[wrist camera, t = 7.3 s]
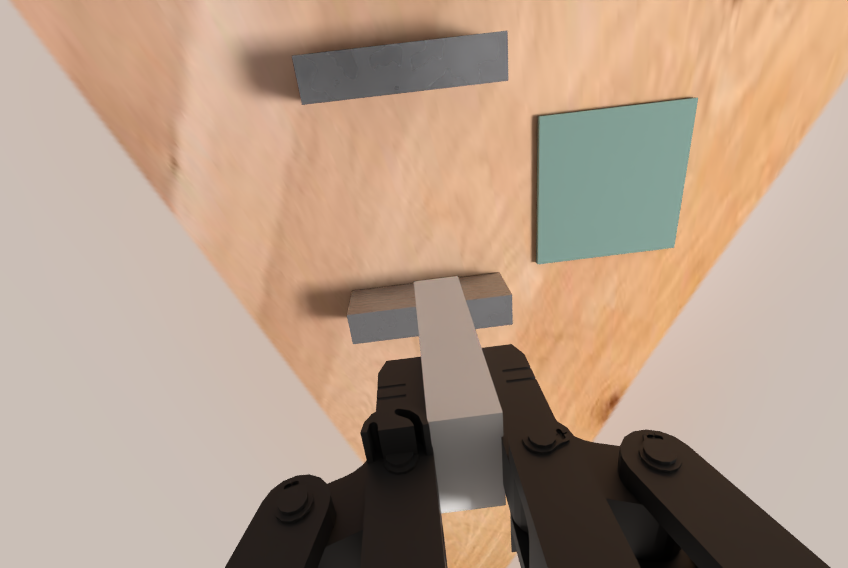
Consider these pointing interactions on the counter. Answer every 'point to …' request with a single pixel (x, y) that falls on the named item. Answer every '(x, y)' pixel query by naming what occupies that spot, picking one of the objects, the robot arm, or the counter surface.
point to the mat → (611, 179)
